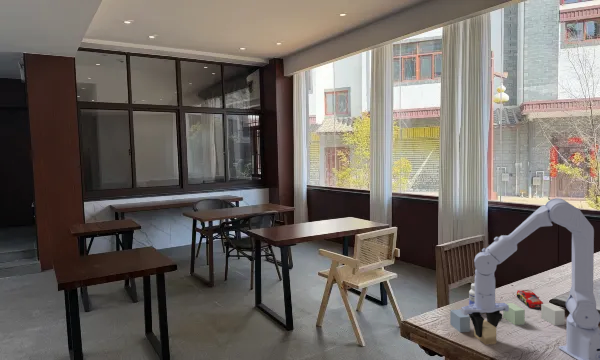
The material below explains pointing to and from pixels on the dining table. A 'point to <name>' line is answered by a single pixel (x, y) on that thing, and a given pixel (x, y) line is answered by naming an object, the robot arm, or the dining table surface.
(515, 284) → the dining table surface
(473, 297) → the pill bottle
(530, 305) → the race car
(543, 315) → the grey brick
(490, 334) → the oak brick
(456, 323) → the slate-blue brick
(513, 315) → the sage brick
